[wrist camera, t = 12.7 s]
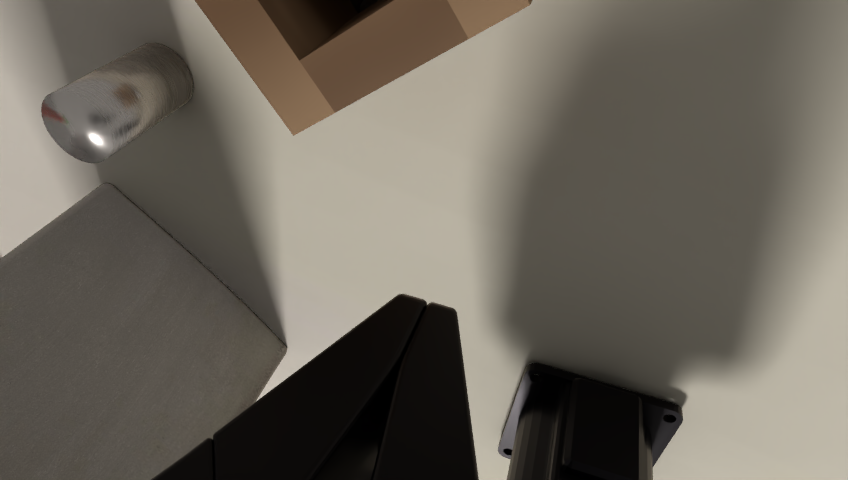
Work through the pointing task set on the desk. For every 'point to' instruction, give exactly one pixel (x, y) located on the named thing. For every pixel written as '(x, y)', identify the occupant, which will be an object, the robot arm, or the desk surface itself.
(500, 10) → the collar
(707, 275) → the desk surface
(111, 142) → the stand rod
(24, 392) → the grey pentagonal slab
